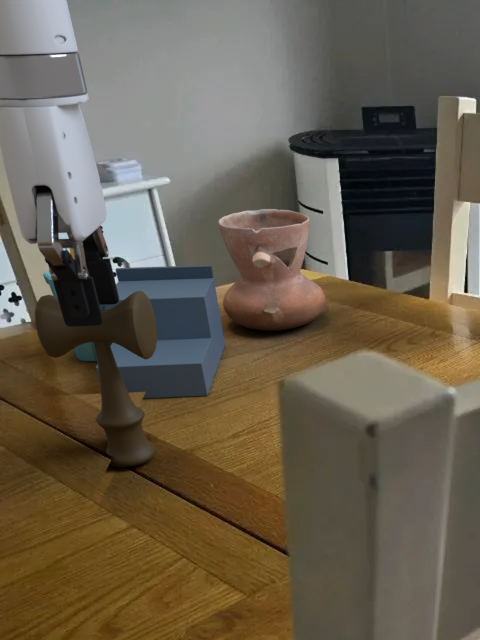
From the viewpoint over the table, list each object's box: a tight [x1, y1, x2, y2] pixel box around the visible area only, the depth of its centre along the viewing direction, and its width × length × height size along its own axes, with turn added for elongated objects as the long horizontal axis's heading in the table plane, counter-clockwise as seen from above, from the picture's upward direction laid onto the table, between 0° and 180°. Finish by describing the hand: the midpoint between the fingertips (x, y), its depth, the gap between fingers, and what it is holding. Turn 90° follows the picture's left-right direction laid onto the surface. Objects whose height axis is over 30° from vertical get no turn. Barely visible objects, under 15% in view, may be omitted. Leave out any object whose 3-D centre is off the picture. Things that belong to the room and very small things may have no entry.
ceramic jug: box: [217, 208, 326, 332], centre depth 117 cm, size 18×14×14 cm
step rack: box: [95, 264, 226, 400], centre depth 102 cm, size 12×18×10 cm, turn 6°
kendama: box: [34, 266, 157, 468], centre depth 78 cm, size 6×10×20 cm, turn 91°
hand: (93, 312), depth 76 cm, fingers closed on kendama, 5 cm apart
